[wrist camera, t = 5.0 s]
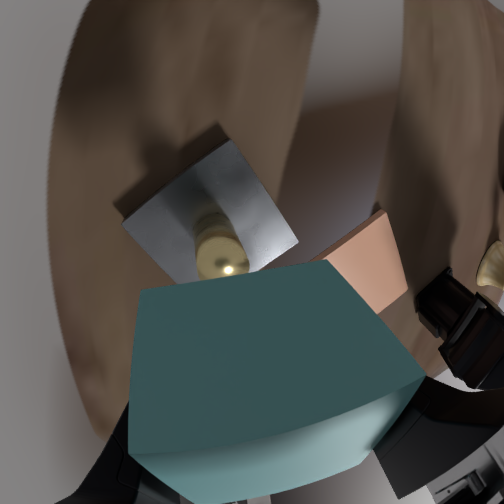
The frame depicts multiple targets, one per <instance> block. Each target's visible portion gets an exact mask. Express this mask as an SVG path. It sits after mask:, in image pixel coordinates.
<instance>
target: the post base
mask: <svg viewBox="0 0 504 504" xmlns="http://www.w3.org/2000/svg"><path fill="white" fill-rule="evenodd" d="M121 225H122V226H123V227H124V229H125V230H126V231H127V232H128V233H129V234H130V235H131V236H132V237H133V238H134V239H135V241H136V242H137V243H138V244H139V245H140V246H141V247H142V248H143V249H144V250H145V251H146V252H147V253H148V254H149V255H150V257H151V258H152V259H153V260H154V261H155V262H156V263H157V264H158V265H159V266H160V267H161V268H162V269H163V270H164V271H165V272H166V273H167V274H168V275H169V276H170V277H171V278H172V279H173V280H174V281H175V282H176V283H177V284H183V283H190V282H196V281H202V280H208V279H214V278H221V277H227V276H233V275H239V274H245V273H250V272H256V271H258V270H259V269H261V268H262V267H264V266H265V265H266V264H268V263H269V262H271V261H272V260H274V259H275V258H276V257H278V256H279V255H281V254H282V253H284V252H285V251H287V250H288V249H290V248H291V247H292V246H294V245H295V244H297V243H298V240H297V238H296V237H295V235H294V234H293V232H292V230H291V229H290V227H289V226H288V224H287V222H286V221H285V219H284V218H283V216H282V215H281V213H280V212H279V210H278V208H277V207H276V205H275V204H274V202H273V201H272V199H271V198H270V196H269V194H268V193H267V191H266V190H265V188H264V187H263V185H262V184H261V182H260V181H259V179H258V178H257V176H256V175H255V173H254V172H253V170H252V169H251V167H250V166H249V164H248V163H247V161H246V160H245V158H244V157H243V156H242V154H241V153H240V151H239V150H238V148H237V147H236V145H235V144H234V142H233V141H232V140H231V139H229V138H228V139H226V140H225V141H223V142H222V143H220V144H219V145H217V146H216V147H215V148H213V149H212V150H210V151H209V152H207V153H206V154H205V155H203V156H202V157H200V158H199V159H198V160H196V161H195V162H194V163H192V164H191V165H190V166H188V167H187V168H186V169H184V170H183V171H182V172H180V173H179V174H178V175H176V176H175V177H174V178H172V179H171V180H170V181H169V182H167V183H166V184H165V185H164V186H162V187H161V188H160V189H159V190H157V191H156V192H155V193H154V194H152V195H151V196H150V197H149V198H147V199H146V200H145V201H144V202H143V203H142V204H140V205H139V206H138V207H137V208H136V209H134V210H133V211H132V212H131V213H130V214H129V215H128V216H126V217H125V218H124V220H123V222H122V224H121Z"/></svg>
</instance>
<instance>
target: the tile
mask: <svg viewBox="0 0 504 504" xmlns="http://www.w3.org/2000/svg"><path fill="white" fill-rule="evenodd" d="M324 259H327V260H328V261H329V262H330V263H331V264H332V265H333V266H334V267H335V268H336V269H337V271H338V272H339V273H340V274H341V275H342V276H343V277H344V278H345V279H346V280H347V281H348V283H349V284H350V285H351V286H352V287H353V288H354V289H355V290H356V291H357V292H358V294H359V295H360V296H361V297H362V298H363V299H364V300H365V301H366V303H367V304H368V305H369V306H370V307H371V308H372V309H373V311H374V312H375V313H376V314H378V313H379V312H380V311H382V310H383V309H384V308H386V307H387V306H388V305H389V304H391V303H392V302H393V301H394V300H396V299H397V298H398V297H399V296H401V295H402V294H403V293H404V292H405V291H407V290H408V287H407V283H406V279H405V275H404V271H403V267H402V263H401V259H400V256H399V252H398V249H397V245H396V242H395V238H394V235H393V232H392V229H391V225H390V222H389V219H388V216H387V213H386V212H385V211H383V210H381V209H380V210H379V211H378V212H376V213H375V214H374V215H372V216H371V217H370V218H368V219H367V220H366V221H364V222H363V223H362V224H360V225H359V226H358V227H356V228H355V229H353V230H352V231H351V232H349V233H348V234H347V235H346V236H344V237H343V238H341V239H340V240H338V241H337V242H336V243H334V244H333V245H331V246H330V247H329V248H327V249H326V250H324V251H323V252H322V253H321V254H319V255H318V256H316V257H315V258H313V259H312V260H310V261H309V262H313V261H318V260H324Z"/></svg>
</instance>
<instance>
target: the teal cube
mask: <svg viewBox="0 0 504 504" xmlns="http://www.w3.org/2000/svg"><path fill="white" fill-rule="evenodd" d="M426 375H427V374H426V373H425V372H424V370H423V369H422V368H421V367H420V365H419V364H418V363H417V362H416V360H415V359H414V358H413V357H412V355H411V354H410V353H409V352H408V351H407V349H406V348H405V347H404V346H403V345H402V343H401V342H400V341H399V340H398V339H397V337H396V336H395V335H394V334H393V333H392V331H391V330H390V329H389V328H388V327H387V326H386V324H385V323H384V322H383V321H382V320H381V319H380V317H379V316H378V315H377V314H376V313H375V312H374V311H373V309H372V308H371V307H370V306H369V305H368V304H367V303H366V301H365V300H364V299H363V298H362V297H361V296H360V295H359V294H358V292H357V291H356V290H355V289H354V288H353V287H352V286H351V285H350V284H349V283H348V281H347V280H346V279H345V278H344V277H343V276H342V275H341V274H340V273H339V272H338V271H337V269H336V268H335V267H334V266H333V265H332V264H331V263H330V262H329V261H328V260H327V259H324V260H318V261H313V262H307V263H302V264H296V265H291V266H285V267H280V268H274V269H268V270H262V271H256V272H250V273H245V274H239V275H233V276H227V277H221V278H214V279H208V280H202V281H196V282H190V283H183V284H177V285H170V286H164V287H157V288H151V289H144V290H141V292H140V299H139V305H138V312H137V319H136V327H135V335H134V344H133V354H132V364H131V377H130V392H129V415H128V454H129V455H130V456H131V457H133V458H134V459H135V460H136V461H137V462H138V463H140V464H141V465H142V466H143V467H144V468H146V469H147V470H148V471H149V472H151V473H152V474H153V475H154V476H156V477H157V478H158V479H160V480H161V481H162V482H164V483H165V484H166V485H168V486H169V487H171V488H172V489H173V490H175V491H176V492H178V493H179V494H181V495H182V496H184V497H185V498H187V499H188V500H190V501H191V502H193V503H195V504H221V503H228V502H235V501H240V500H246V499H251V498H256V497H261V496H265V495H270V494H274V493H278V492H281V491H285V490H289V489H293V488H296V487H299V486H303V485H305V484H309V483H312V482H315V481H318V480H321V479H324V478H326V477H329V476H332V475H334V474H337V473H339V472H342V471H344V470H347V469H349V468H352V467H354V466H356V465H358V464H360V463H361V462H362V461H363V460H364V458H365V457H366V456H367V455H368V454H369V453H370V452H371V451H372V449H373V448H374V447H375V446H376V445H377V444H378V442H379V441H380V440H381V439H382V437H383V436H384V435H385V434H386V432H387V431H388V430H389V429H390V427H391V426H392V425H393V423H394V422H395V421H396V419H397V418H398V417H399V415H400V414H401V413H402V411H403V410H404V408H405V407H406V406H407V404H408V403H409V401H410V400H411V398H412V397H413V395H414V394H415V392H416V391H417V389H418V388H419V386H420V384H421V383H422V381H423V380H424V378H425V376H426Z"/></svg>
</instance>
